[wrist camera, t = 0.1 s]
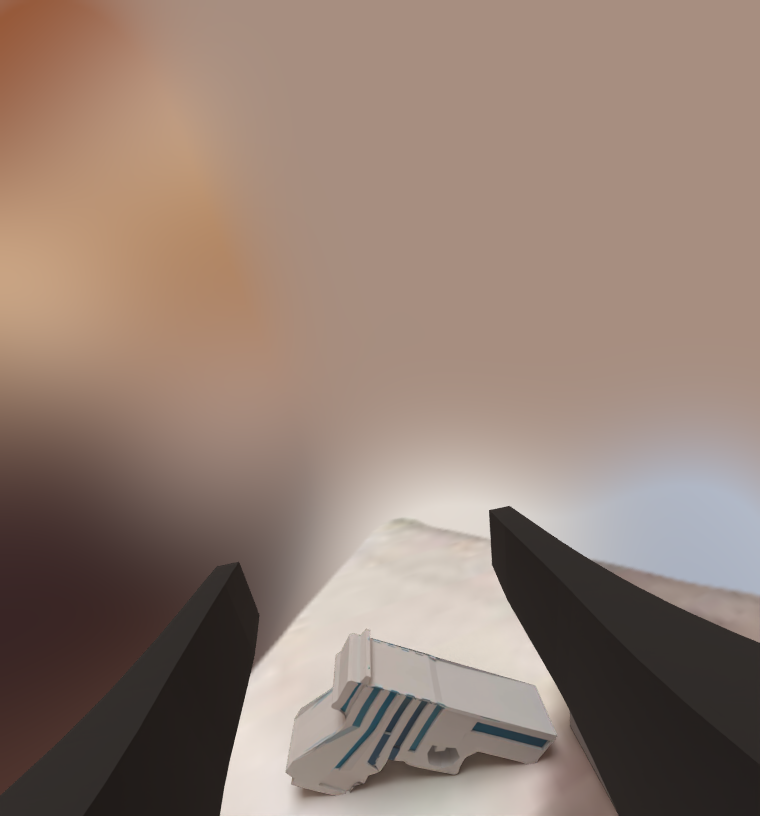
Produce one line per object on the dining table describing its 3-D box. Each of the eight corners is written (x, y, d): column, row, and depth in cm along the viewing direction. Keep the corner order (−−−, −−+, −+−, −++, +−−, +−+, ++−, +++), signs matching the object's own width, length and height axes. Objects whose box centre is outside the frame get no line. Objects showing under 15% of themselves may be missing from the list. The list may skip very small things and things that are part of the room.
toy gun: (289, 727, 25) (341, 620, 22) (475, 772, 27) (541, 679, 24) (279, 784, 22) (337, 668, 19) (488, 829, 24) (565, 730, 21)
